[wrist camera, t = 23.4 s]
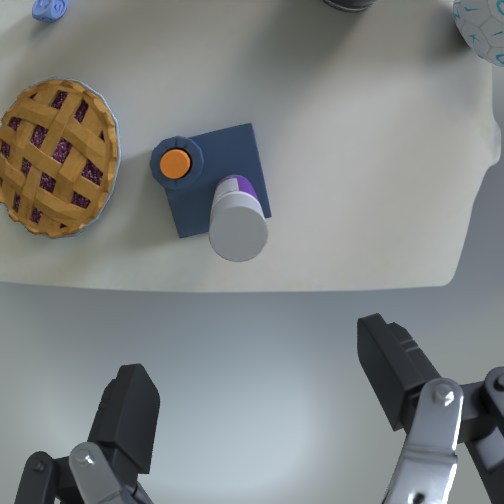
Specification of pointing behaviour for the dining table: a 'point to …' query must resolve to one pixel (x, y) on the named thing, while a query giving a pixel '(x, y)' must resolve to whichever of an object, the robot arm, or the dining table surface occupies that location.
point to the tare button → (174, 164)
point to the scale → (209, 174)
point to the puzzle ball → (482, 27)
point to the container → (237, 220)
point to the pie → (58, 157)
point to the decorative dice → (48, 9)
